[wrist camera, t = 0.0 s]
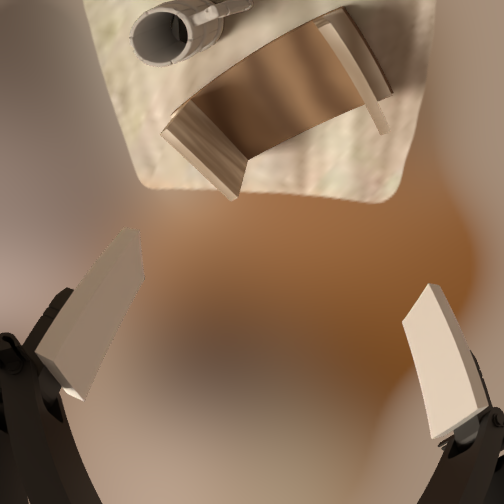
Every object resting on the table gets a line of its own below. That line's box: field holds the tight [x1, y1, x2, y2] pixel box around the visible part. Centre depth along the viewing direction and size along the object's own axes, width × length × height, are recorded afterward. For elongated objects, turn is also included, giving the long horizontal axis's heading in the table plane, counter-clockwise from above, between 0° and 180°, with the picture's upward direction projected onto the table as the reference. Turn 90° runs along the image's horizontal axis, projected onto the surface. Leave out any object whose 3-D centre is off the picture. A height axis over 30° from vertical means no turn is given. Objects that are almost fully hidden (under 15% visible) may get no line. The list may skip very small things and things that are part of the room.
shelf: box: [160, 6, 393, 201], centre depth 27 cm, size 26×12×10 cm, turn 128°
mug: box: [129, 0, 254, 67], centre depth 19 cm, size 8×12×12 cm, turn 111°
